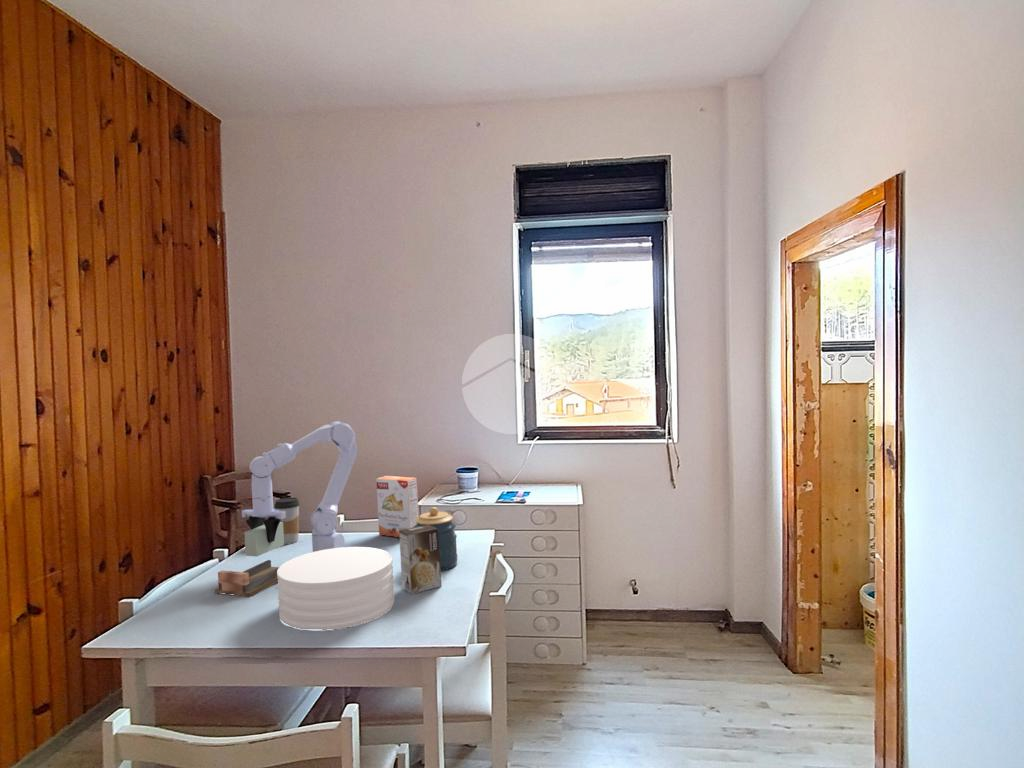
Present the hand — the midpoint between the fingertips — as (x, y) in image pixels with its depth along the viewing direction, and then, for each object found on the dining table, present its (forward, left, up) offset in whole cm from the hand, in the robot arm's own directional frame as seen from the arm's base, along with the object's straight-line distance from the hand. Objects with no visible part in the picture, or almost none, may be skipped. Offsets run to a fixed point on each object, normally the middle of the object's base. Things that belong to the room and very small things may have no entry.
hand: (265, 541), depth 188 cm
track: (-4, +8, -9) cm, 13 cm away
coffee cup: (+14, -29, -9) cm, 33 cm away
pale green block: (0, 0, -3) cm, 3 cm away
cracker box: (-22, -43, -10) cm, 49 cm away
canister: (-49, -16, -10) cm, 52 cm away
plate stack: (-38, +19, -10) cm, 44 cm away
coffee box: (-53, +2, -10) cm, 54 cm away
